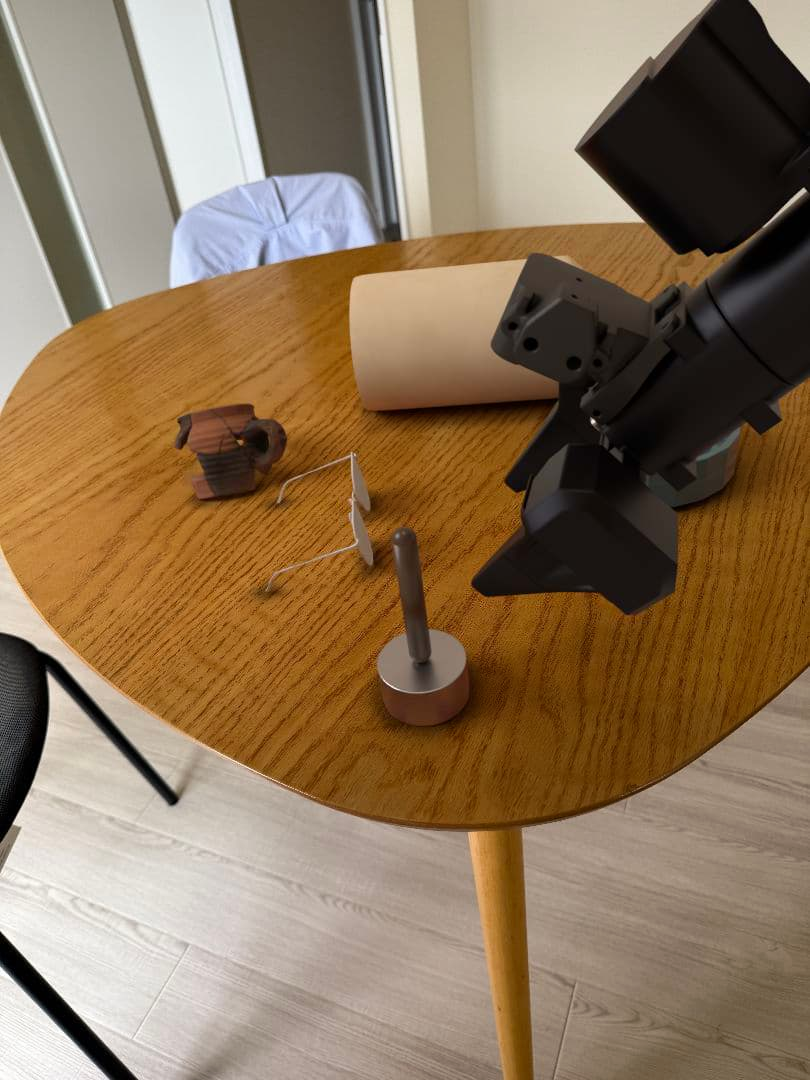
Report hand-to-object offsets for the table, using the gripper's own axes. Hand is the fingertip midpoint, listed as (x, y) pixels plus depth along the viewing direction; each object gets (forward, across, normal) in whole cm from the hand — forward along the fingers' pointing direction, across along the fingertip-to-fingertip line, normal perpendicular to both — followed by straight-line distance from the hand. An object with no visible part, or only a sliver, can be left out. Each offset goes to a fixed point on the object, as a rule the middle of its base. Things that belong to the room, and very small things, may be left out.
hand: (495, 533), depth 41 cm
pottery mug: (+31, -24, -12) cm, 41 cm away
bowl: (+4, -29, +14) cm, 33 cm away
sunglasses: (+22, -15, -4) cm, 27 cm away
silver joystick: (+13, 0, +6) cm, 14 cm away
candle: (+16, -42, +3) cm, 45 cm away
